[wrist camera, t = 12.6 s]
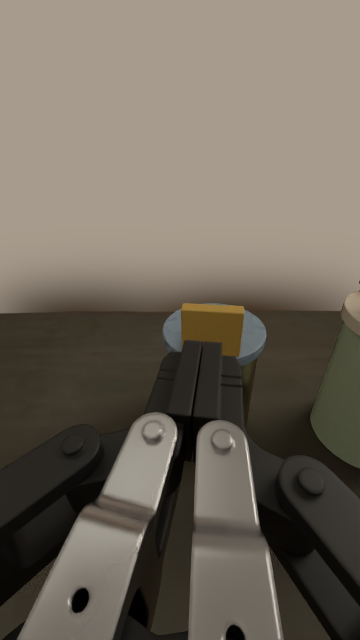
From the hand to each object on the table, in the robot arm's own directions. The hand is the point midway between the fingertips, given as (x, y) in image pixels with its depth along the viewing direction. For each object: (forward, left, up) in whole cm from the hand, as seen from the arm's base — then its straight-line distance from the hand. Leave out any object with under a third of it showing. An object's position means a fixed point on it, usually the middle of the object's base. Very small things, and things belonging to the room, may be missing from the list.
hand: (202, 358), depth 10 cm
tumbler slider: (0, -8, -5) cm, 9 cm away
